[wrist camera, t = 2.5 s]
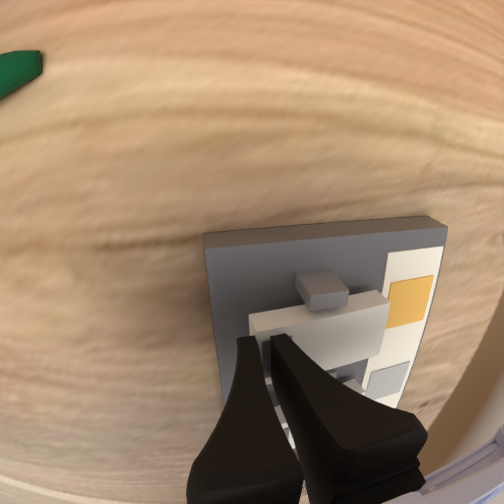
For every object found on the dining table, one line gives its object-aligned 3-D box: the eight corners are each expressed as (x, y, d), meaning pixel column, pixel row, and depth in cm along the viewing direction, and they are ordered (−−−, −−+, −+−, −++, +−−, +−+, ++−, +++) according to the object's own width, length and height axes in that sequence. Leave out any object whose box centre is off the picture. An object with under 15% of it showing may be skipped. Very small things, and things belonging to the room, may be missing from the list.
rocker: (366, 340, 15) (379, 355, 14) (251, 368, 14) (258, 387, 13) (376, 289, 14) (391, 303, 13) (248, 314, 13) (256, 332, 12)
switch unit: (369, 437, 24) (385, 468, 20) (234, 466, 22) (241, 504, 19) (428, 216, 16) (473, 241, 13) (203, 233, 14) (206, 271, 11)
